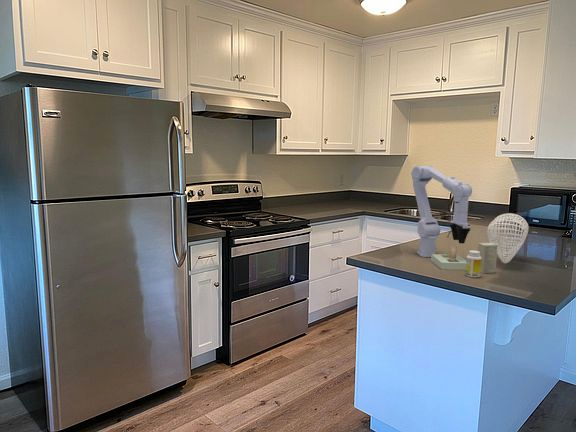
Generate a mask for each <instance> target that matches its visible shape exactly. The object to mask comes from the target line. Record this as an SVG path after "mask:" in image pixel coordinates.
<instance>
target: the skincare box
mask: <svg viewBox="0 0 576 432" xmlns="http://www.w3.org/2000/svg"><path fill="white" fill-rule="evenodd" d="M496 244H497V243H496ZM496 244H494V243H490V242H479V243H478V245H477V246H478V247H477V251H479V252H480V257H481V258H482V259H481V274H488V273H489V274H492V273H493V274H495V273H496V268H497V257H498V255H497V247H498V246H497V245H496Z"/></svg>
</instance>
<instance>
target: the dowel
mask: <svg viewBox="0 0 576 432" xmlns="http://www.w3.org/2000/svg"><path fill="white" fill-rule="evenodd" d="M448 249H449V250H448V255H449V262H456V255H457V250H458V249H457V247H456V246H449V248H448Z"/></svg>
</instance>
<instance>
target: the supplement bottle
mask: <svg viewBox="0 0 576 432" xmlns="http://www.w3.org/2000/svg"><path fill="white" fill-rule="evenodd" d="M468 252H469V253H468V255H467V256H466V270H465V275H466V277H469V278H479V277H481V274H482V273H481V259H482V258H481V257H480V252H479V251H478V250H473V249H472V250H469V251H468Z"/></svg>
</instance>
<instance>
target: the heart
mask: <svg viewBox="0 0 576 432" xmlns="http://www.w3.org/2000/svg"><path fill="white" fill-rule="evenodd" d="M529 228H530V227H529V223H528V222H527V220H526V219H525V218H524V217H522V216H521V215H519V214H516V213H513V212H509V213H502V214H500V215H498V216H496V217H495V218H494V219H493V220H492V221H491V222H490V223H489V225H488V227H487V230H486V234H487V239H488V241H489V243H494V244H496V245H497V257H498V258H499V260H500V261H501V262H502V263H503V264H508V263H510V262H511V260H512V259H513V258H514V257H515V255H517V253H518V252H519V250H520V249H521V247H522V246H523V244H524V242H525V241H526V239H527V236H528V233H529ZM520 229H521V230H520ZM500 231H501V232H500Z"/></svg>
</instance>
